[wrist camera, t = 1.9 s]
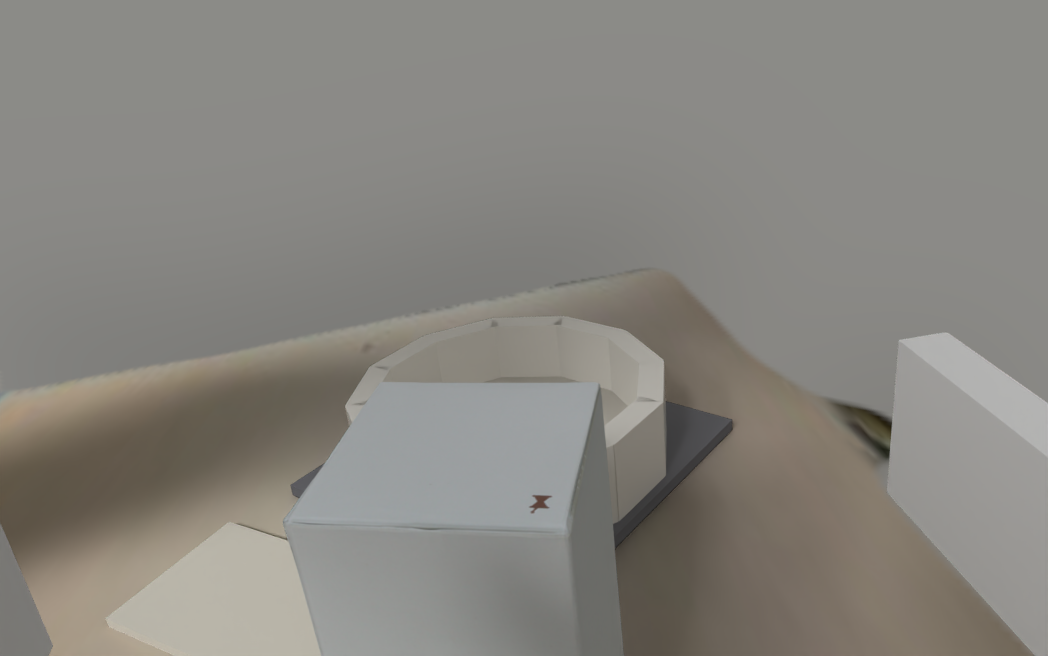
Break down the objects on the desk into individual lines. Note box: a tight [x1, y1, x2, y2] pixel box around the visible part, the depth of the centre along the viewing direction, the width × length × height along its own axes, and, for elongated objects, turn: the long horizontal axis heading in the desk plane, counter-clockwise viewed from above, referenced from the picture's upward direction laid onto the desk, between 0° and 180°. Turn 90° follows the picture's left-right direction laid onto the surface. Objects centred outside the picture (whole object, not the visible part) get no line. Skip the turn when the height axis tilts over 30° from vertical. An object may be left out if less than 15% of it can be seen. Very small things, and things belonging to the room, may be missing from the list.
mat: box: [291, 401, 732, 548], centre depth 46 cm, size 16×16×1 cm
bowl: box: [345, 316, 667, 524], centre depth 45 cm, size 15×15×4 cm
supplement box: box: [283, 382, 624, 656], centre depth 27 cm, size 7×7×13 cm
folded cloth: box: [105, 522, 321, 656], centre depth 38 cm, size 10×7×1 cm
